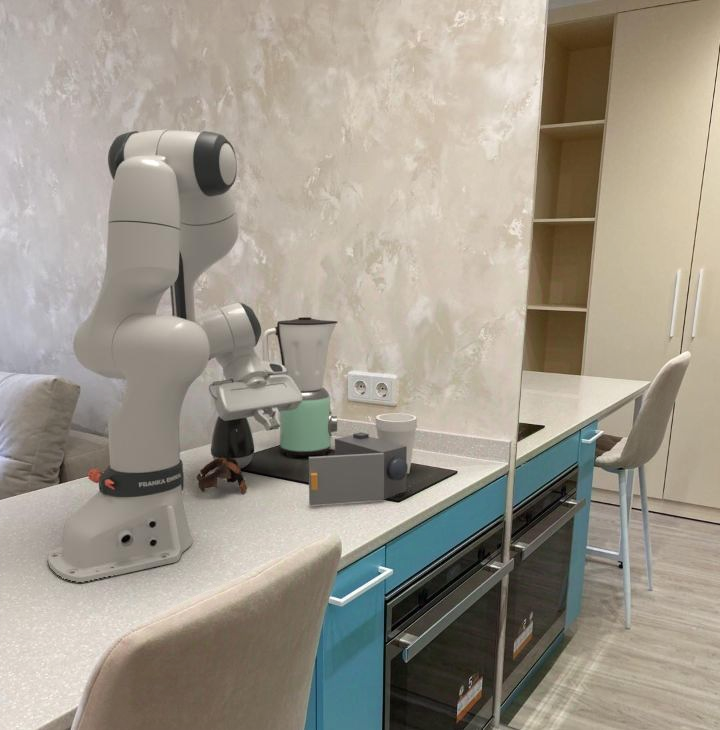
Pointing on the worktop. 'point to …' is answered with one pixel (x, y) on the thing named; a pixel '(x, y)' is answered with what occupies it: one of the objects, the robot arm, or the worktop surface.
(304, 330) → the green blender
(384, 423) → the foam cup
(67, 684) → the worktop surface
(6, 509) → the worktop surface
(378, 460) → the side door
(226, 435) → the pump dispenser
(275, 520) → the worktop surface
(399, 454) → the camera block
